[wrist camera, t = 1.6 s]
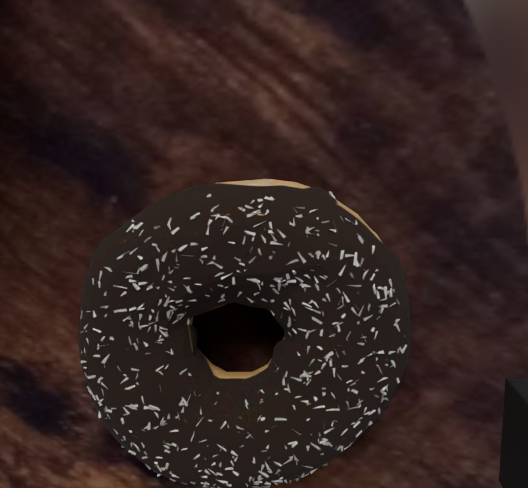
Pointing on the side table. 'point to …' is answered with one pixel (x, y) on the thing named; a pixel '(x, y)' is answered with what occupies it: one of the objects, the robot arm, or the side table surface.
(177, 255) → the donut
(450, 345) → the side table surface
